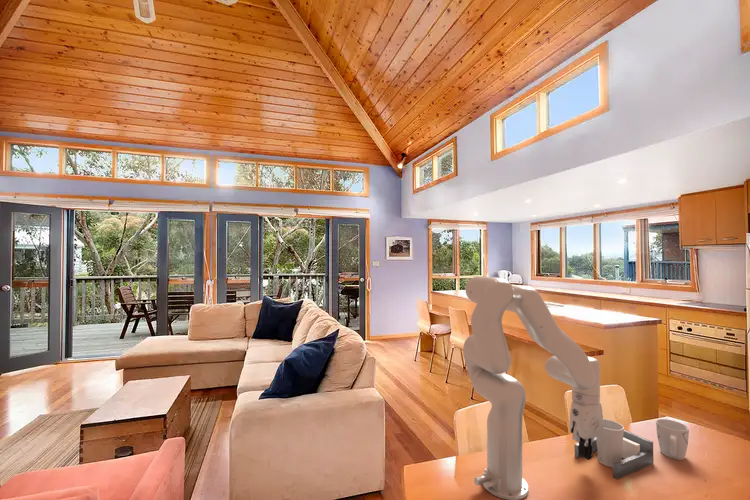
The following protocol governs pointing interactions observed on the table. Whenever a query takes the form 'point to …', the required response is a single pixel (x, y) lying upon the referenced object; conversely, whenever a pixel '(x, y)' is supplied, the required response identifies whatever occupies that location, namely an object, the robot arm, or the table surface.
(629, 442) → the pusher plate
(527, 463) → the table surface
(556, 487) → the table surface
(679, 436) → the mug
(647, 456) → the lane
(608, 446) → the cup
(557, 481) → the table surface
